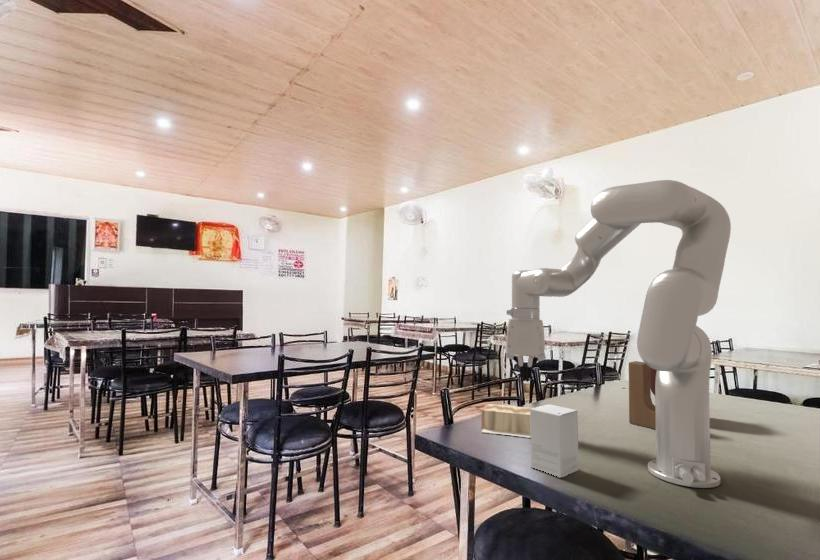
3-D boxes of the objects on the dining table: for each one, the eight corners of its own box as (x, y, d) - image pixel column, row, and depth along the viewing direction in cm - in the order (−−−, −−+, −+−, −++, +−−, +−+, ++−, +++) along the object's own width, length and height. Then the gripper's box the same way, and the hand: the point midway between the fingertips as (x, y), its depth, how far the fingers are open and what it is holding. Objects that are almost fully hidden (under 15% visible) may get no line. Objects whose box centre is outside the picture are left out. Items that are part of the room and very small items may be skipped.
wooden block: (668, 428, 121) (667, 364, 122) (661, 431, 119) (660, 365, 120) (635, 421, 128) (635, 360, 129) (628, 423, 126) (627, 362, 127)
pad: (535, 439, 110) (535, 437, 110) (481, 432, 115) (481, 431, 115) (538, 424, 123) (538, 423, 123) (489, 419, 128) (489, 418, 128)
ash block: (541, 416, 113) (481, 410, 118) (541, 435, 113) (481, 428, 118) (543, 409, 120) (486, 403, 126) (543, 426, 120) (486, 420, 125)
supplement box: (579, 470, 90) (579, 409, 91) (560, 479, 85) (560, 415, 86) (549, 459, 96) (548, 403, 96) (529, 467, 91) (529, 407, 92)
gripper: (496, 314, 118) (496, 381, 117) (553, 315, 113) (553, 385, 112) (500, 313, 125) (500, 376, 125) (554, 314, 120) (554, 380, 119)
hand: (525, 380), depth 118 cm, fingers closed
